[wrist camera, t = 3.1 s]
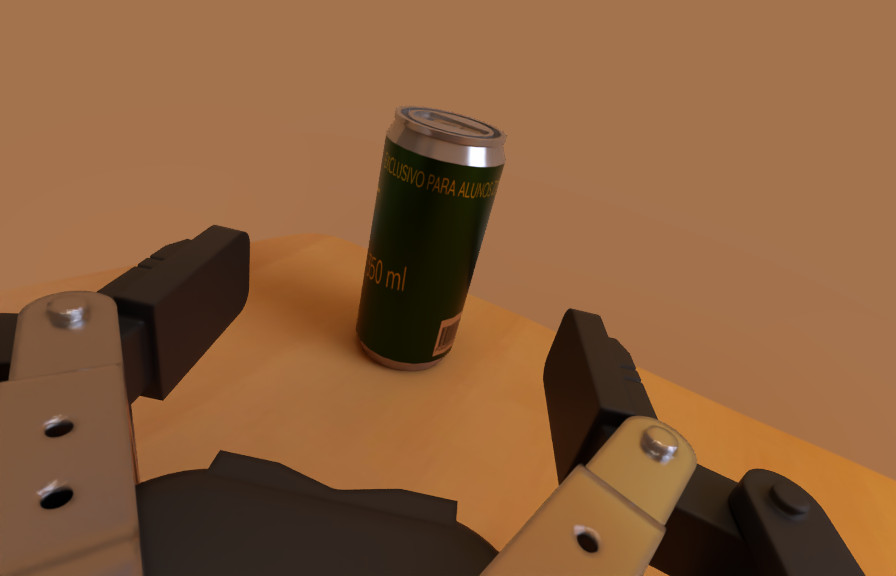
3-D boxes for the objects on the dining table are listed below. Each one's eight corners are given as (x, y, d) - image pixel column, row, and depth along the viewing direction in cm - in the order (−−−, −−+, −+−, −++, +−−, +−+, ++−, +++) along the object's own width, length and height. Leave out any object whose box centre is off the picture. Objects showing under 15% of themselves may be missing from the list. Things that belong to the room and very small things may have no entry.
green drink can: (463, 337, 28) (524, 132, 22) (427, 390, 24) (491, 150, 18) (383, 303, 29) (421, 101, 23) (334, 347, 25) (365, 109, 19)
